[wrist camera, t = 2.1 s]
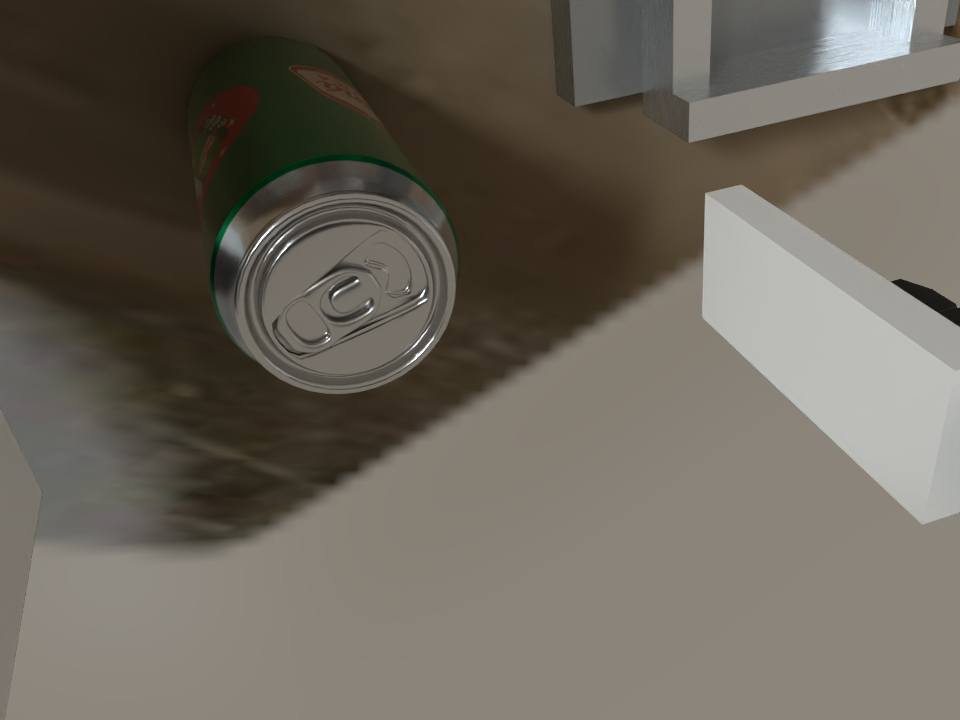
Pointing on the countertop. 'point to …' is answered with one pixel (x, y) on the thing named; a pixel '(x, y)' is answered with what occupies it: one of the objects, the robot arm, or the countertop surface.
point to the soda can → (315, 222)
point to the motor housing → (749, 56)
